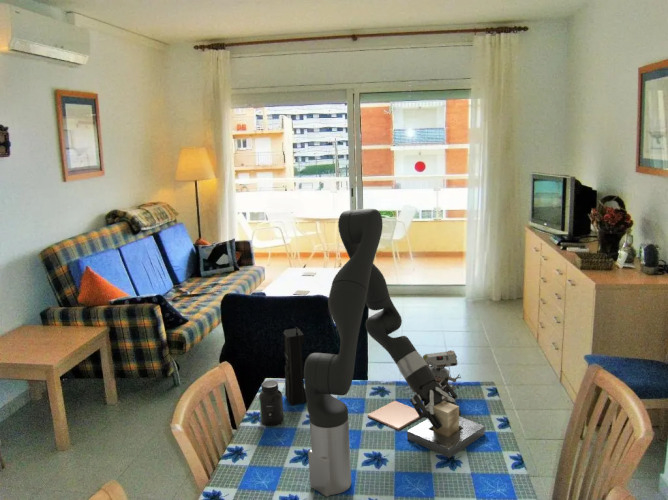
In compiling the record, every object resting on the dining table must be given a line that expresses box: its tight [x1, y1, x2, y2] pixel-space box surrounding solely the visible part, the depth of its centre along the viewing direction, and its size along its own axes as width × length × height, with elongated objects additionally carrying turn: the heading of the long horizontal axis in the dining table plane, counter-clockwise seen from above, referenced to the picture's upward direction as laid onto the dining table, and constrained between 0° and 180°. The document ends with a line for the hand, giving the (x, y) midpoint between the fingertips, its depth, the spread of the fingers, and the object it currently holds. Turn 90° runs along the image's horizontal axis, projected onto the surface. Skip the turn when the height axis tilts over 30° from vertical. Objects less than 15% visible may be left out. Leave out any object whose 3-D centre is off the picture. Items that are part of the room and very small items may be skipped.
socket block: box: [406, 415, 486, 459], centre depth 163 cm, size 16×14×2 cm
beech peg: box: [433, 401, 460, 438], centre depth 163 cm, size 5×5×9 cm
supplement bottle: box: [258, 380, 285, 428], centre depth 176 cm, size 7×7×12 cm
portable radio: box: [283, 326, 307, 406], centre depth 188 cm, size 8×6×25 cm
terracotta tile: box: [367, 400, 421, 431], centre depth 177 cm, size 12×12×1 cm
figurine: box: [422, 350, 462, 405], centre depth 185 cm, size 9×12×15 cm
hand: (449, 422), depth 162 cm, fingers open, 8 cm apart
